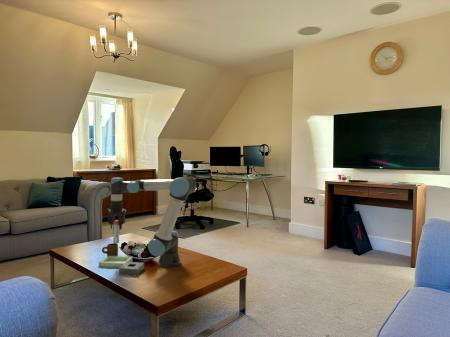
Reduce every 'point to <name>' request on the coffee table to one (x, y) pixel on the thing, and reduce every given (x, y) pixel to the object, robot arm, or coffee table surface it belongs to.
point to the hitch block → (131, 268)
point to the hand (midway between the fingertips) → (116, 233)
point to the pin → (115, 232)
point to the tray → (114, 261)
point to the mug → (111, 249)
